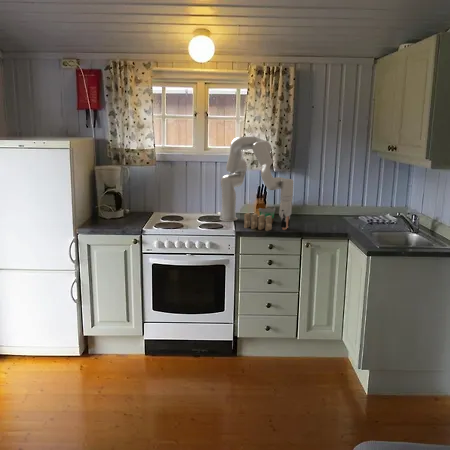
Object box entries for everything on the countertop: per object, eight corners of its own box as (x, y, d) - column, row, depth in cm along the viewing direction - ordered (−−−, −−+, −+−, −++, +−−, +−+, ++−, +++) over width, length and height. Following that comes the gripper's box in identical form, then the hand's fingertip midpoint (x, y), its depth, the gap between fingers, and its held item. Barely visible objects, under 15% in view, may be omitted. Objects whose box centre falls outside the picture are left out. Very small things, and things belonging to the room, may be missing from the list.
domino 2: (251, 228, 301) (251, 214, 299) (254, 227, 305) (254, 213, 303) (253, 229, 300) (254, 215, 298) (257, 227, 304) (257, 213, 302)
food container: (262, 224, 314) (262, 209, 312) (258, 222, 320) (258, 207, 318) (278, 223, 319) (279, 208, 317) (274, 221, 324) (274, 206, 322)
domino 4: (265, 230, 296) (265, 216, 294) (268, 229, 301) (269, 215, 299) (268, 231, 296) (268, 217, 294) (271, 229, 300) (272, 215, 298)
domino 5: (282, 229, 300) (282, 216, 298) (285, 228, 304) (285, 214, 302) (285, 230, 299) (285, 216, 297) (288, 228, 303) (288, 215, 301)
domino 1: (244, 227, 304) (244, 214, 301) (247, 226, 308) (247, 212, 306) (246, 228, 303) (247, 214, 301) (250, 226, 307) (250, 213, 305)
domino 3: (258, 229, 299) (258, 215, 297) (261, 228, 303) (261, 214, 301) (261, 230, 298) (261, 216, 296) (264, 228, 302) (264, 214, 300)
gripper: (286, 196, 306) (284, 223, 310) (275, 199, 291) (274, 228, 295) (296, 197, 302) (295, 224, 306) (287, 201, 288) (285, 229, 292)
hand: (285, 226), depth 301 cm, fingers closed on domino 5, 4 cm apart
